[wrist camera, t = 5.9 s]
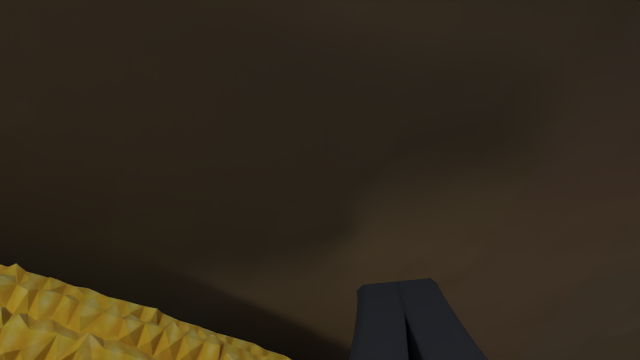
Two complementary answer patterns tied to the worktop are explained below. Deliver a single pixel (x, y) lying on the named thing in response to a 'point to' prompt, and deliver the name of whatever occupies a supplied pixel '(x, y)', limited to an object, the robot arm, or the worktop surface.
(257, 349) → the food
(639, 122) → the worktop surface
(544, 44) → the worktop surface
